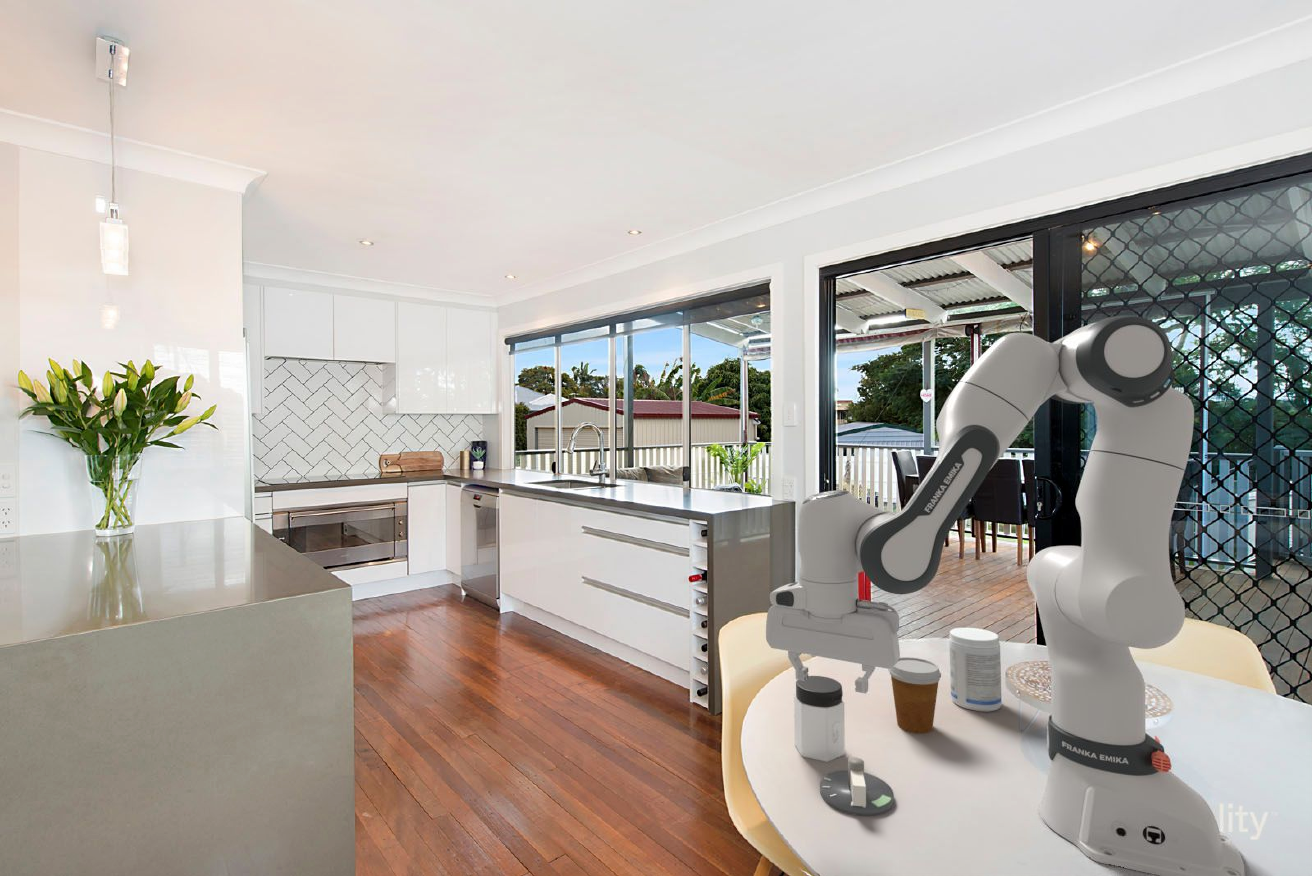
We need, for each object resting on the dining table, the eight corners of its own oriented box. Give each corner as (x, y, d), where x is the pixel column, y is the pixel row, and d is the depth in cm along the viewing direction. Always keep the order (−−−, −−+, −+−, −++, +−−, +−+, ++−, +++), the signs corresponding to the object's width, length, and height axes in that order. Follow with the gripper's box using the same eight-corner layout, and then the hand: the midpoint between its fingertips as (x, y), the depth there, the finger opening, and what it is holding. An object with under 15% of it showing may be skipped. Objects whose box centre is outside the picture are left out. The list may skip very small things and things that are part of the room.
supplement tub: (1010, 705, 132) (1009, 634, 132) (987, 718, 126) (986, 644, 126) (964, 690, 140) (963, 624, 140) (940, 701, 134) (940, 632, 134)
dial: (901, 791, 101) (901, 782, 101) (882, 826, 92) (882, 817, 92) (833, 770, 107) (833, 762, 107) (809, 802, 98) (809, 793, 98)
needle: (847, 781, 101) (847, 756, 101) (863, 783, 100) (863, 758, 100) (851, 805, 94) (850, 778, 94) (868, 807, 94) (867, 780, 94)
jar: (819, 767, 108) (819, 697, 108) (785, 747, 115) (784, 682, 115) (854, 752, 113) (853, 685, 113) (819, 734, 120) (818, 671, 120)
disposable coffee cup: (890, 734, 120) (889, 671, 120) (887, 713, 129) (886, 654, 129) (945, 741, 117) (944, 676, 117) (938, 719, 126) (937, 658, 126)
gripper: (903, 599, 95) (906, 692, 95) (776, 584, 107) (778, 667, 107) (892, 609, 90) (895, 707, 90) (760, 592, 101) (762, 679, 101)
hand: (831, 685), depth 98 cm, fingers open, 8 cm apart
